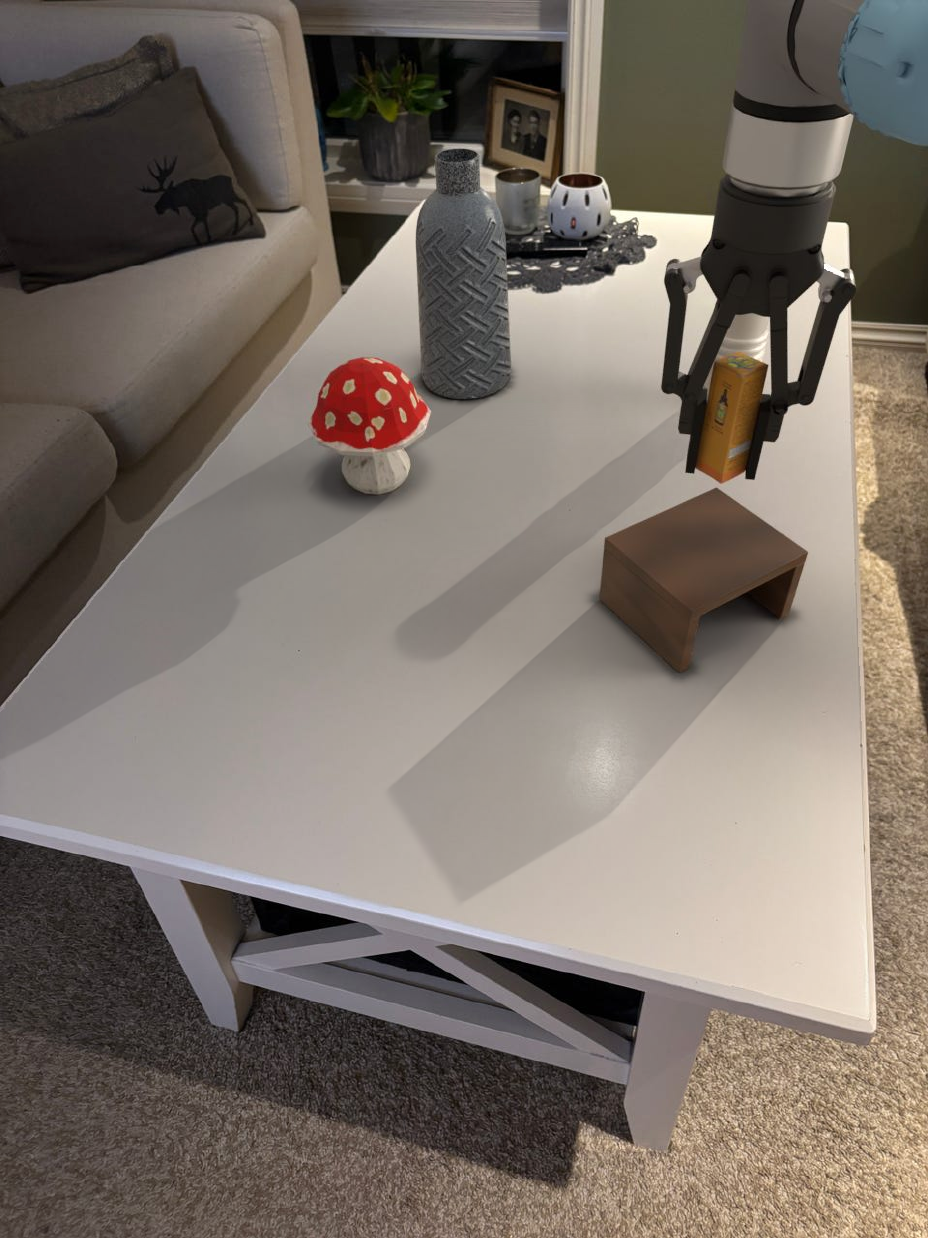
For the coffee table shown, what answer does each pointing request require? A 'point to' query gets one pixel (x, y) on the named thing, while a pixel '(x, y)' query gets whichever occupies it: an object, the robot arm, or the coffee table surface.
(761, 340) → the white ribbed cylinder
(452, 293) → the vase
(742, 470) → the supplement box
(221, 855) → the coffee table surface
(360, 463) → the decorative mushroom
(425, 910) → the coffee table surface
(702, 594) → the shelf
